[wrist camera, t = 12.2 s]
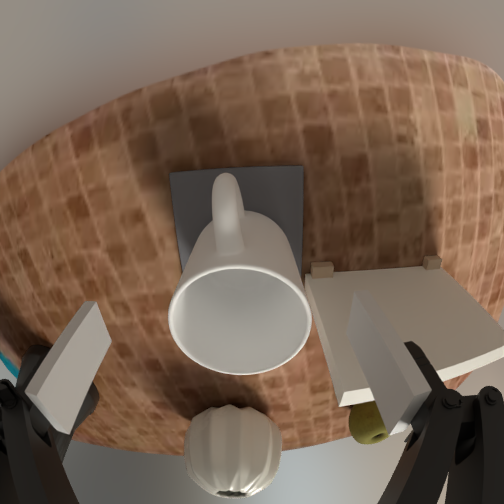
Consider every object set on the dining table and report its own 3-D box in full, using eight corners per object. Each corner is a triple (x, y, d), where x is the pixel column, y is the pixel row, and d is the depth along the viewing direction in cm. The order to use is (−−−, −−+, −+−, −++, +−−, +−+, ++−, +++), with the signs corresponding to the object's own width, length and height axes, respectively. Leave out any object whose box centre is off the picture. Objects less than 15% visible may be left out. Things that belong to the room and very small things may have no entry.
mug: (181, 171, 22) (132, 203, 12) (282, 158, 21) (309, 180, 12) (205, 296, 27) (187, 377, 17) (291, 287, 26) (310, 368, 17)
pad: (186, 285, 27) (185, 288, 26) (171, 172, 22) (169, 173, 22) (299, 281, 27) (300, 284, 26) (302, 165, 22) (303, 166, 22)
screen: (303, 298, 28) (335, 416, 15) (305, 262, 26) (348, 379, 13) (432, 285, 27) (499, 365, 15) (440, 255, 26) (519, 329, 13)
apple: (362, 418, 39) (371, 451, 32) (333, 408, 37) (342, 446, 30) (396, 394, 36) (410, 427, 30) (371, 382, 34) (386, 420, 28)
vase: (297, 411, 36) (307, 489, 24) (243, 443, 41) (243, 507, 29) (218, 381, 33) (210, 473, 21) (173, 418, 38) (160, 489, 25)
